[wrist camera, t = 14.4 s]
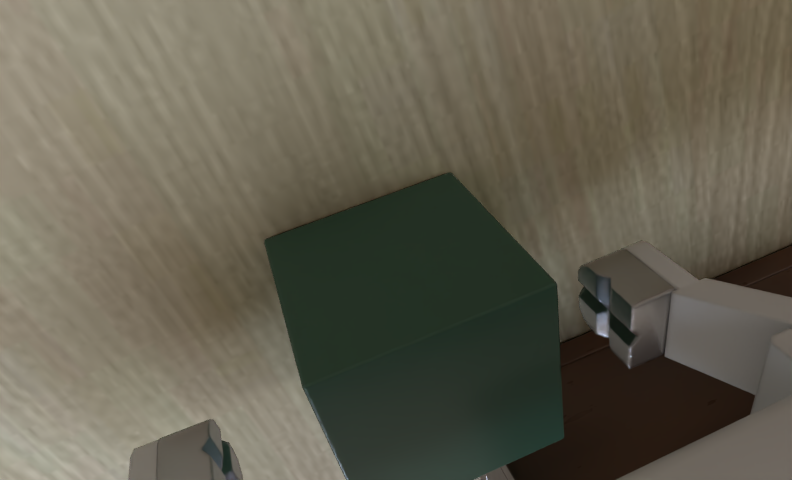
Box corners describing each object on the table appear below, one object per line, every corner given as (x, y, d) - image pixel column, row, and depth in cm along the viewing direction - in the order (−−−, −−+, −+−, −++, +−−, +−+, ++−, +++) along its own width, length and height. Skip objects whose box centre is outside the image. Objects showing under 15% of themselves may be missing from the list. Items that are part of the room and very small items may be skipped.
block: (450, 170, 13) (558, 282, 9) (474, 310, 16) (565, 439, 12) (263, 239, 12) (301, 387, 9) (320, 372, 15) (369, 528, 11)
